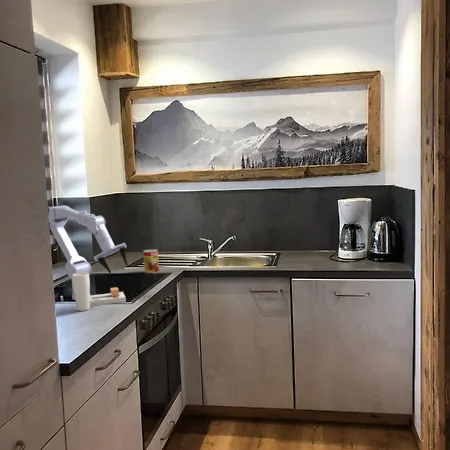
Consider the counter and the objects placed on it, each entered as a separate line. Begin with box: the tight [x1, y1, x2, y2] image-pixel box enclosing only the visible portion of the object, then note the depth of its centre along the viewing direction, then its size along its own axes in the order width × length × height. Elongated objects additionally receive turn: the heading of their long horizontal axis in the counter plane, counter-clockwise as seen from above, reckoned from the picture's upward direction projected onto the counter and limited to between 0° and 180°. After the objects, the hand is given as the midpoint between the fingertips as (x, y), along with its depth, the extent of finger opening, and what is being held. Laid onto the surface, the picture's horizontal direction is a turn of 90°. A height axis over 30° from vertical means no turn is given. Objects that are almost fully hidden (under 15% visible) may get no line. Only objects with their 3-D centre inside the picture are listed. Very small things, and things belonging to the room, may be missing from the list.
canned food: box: [142, 249, 160, 273], centre depth 295 cm, size 8×8×12 cm
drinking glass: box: [71, 273, 91, 312], centre depth 222 cm, size 7×7×15 cm
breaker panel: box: [90, 291, 127, 307], centre depth 235 cm, size 11×16×2 cm
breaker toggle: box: [110, 286, 120, 296], centre depth 236 cm, size 5×3×3 cm, turn 17°
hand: (118, 268), depth 230 cm, fingers open, 7 cm apart
